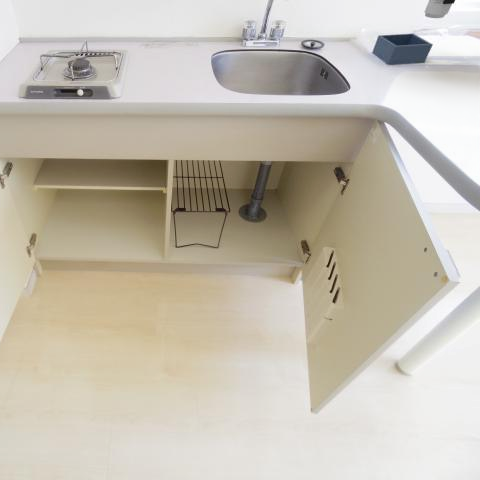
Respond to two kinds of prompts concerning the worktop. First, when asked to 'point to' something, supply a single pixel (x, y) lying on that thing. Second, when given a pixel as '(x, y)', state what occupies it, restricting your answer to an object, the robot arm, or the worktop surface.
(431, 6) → the energy drink can
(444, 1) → the robot arm
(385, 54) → the bin
